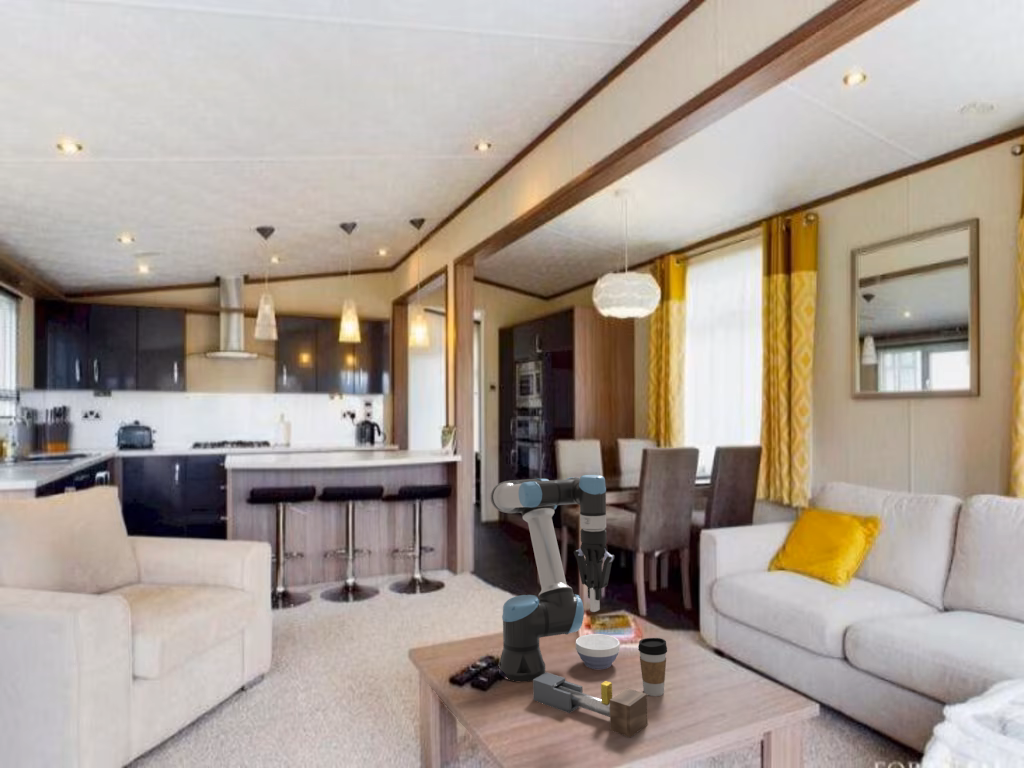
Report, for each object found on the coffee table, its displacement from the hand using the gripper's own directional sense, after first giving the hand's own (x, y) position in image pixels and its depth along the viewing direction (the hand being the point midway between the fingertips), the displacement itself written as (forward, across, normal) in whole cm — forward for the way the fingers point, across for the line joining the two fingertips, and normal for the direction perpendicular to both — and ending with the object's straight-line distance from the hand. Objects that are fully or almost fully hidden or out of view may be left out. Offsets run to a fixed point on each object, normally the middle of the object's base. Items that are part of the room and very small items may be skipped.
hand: (595, 610), depth 191 cm
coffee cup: (+26, +10, +15) cm, 32 cm away
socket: (+26, +14, -8) cm, 31 cm away
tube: (+26, +4, -8) cm, 27 cm away
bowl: (+26, -14, +22) cm, 37 cm away
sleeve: (+26, -8, -8) cm, 28 cm away
